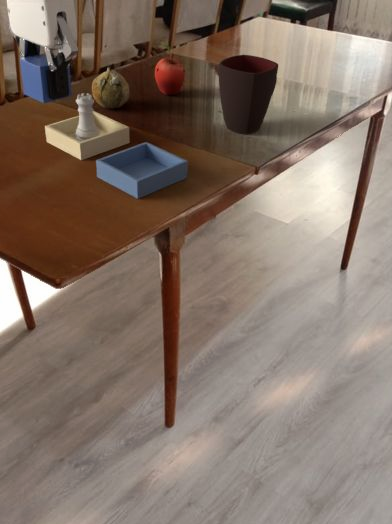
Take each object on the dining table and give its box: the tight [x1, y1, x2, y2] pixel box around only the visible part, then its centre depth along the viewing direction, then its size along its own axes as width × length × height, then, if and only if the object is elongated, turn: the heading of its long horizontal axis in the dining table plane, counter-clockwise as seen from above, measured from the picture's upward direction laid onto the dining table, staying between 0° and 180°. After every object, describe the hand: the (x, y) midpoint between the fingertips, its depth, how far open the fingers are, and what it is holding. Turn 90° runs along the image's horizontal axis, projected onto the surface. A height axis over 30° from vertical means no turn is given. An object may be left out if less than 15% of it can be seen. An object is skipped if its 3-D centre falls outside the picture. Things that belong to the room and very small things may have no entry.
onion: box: [91, 67, 130, 110], centre depth 126 cm, size 8×8×8 cm
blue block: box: [19, 52, 73, 104], centre depth 91 cm, size 5×5×5 cm
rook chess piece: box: [75, 92, 99, 142], centre depth 112 cm, size 4×4×8 cm
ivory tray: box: [44, 110, 131, 161], centre depth 114 cm, size 11×10×3 cm
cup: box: [218, 54, 279, 136], centre depth 120 cm, size 10×14×12 cm
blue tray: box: [95, 141, 189, 200], centre depth 104 cm, size 11×10×3 cm
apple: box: [154, 41, 186, 96], centre depth 132 cm, size 8×7×10 cm
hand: (47, 90), depth 92 cm, fingers closed on blue block, 5 cm apart
